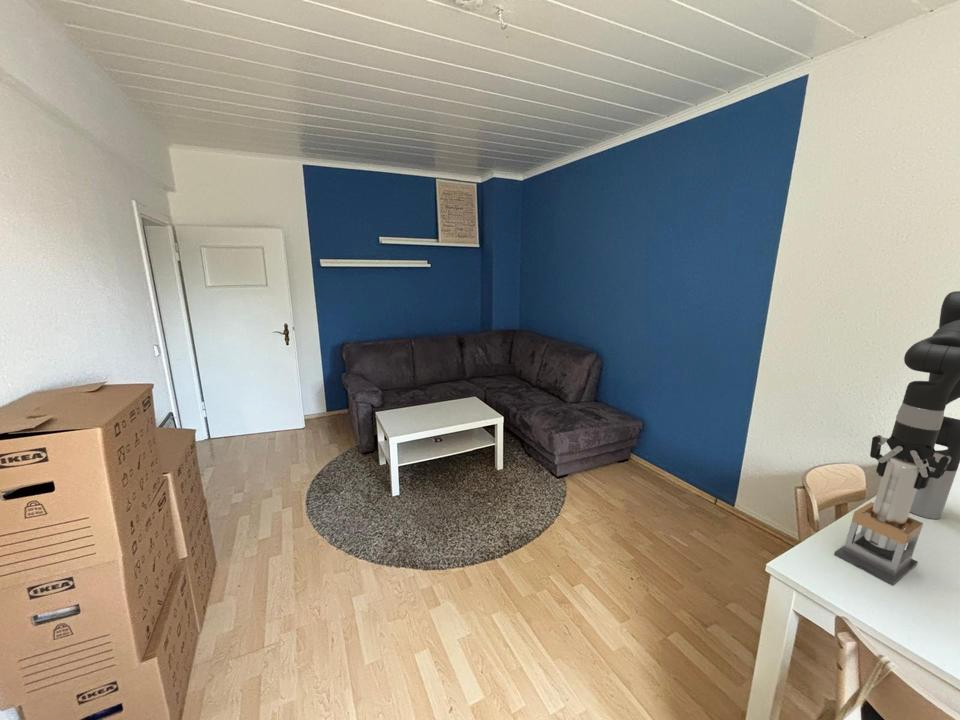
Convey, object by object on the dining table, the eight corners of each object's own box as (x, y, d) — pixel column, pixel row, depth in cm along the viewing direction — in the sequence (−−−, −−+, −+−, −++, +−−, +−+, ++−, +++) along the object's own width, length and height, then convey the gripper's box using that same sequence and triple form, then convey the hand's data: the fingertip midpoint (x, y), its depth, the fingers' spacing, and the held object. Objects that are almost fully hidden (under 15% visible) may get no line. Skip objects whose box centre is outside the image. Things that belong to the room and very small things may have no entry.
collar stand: (859, 537, 116) (871, 497, 112) (916, 564, 105) (931, 521, 102) (834, 554, 109) (845, 512, 105) (892, 585, 98) (908, 540, 95)
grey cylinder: (904, 552, 102) (932, 467, 96) (875, 549, 103) (901, 464, 97) (885, 536, 108) (910, 455, 102) (858, 532, 109) (881, 452, 103)
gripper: (966, 430, 93) (945, 492, 97) (885, 410, 105) (869, 466, 109) (956, 436, 89) (934, 500, 93) (873, 415, 102) (857, 472, 106)
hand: (899, 481), depth 101 cm, fingers closed on grey cylinder, 6 cm apart
